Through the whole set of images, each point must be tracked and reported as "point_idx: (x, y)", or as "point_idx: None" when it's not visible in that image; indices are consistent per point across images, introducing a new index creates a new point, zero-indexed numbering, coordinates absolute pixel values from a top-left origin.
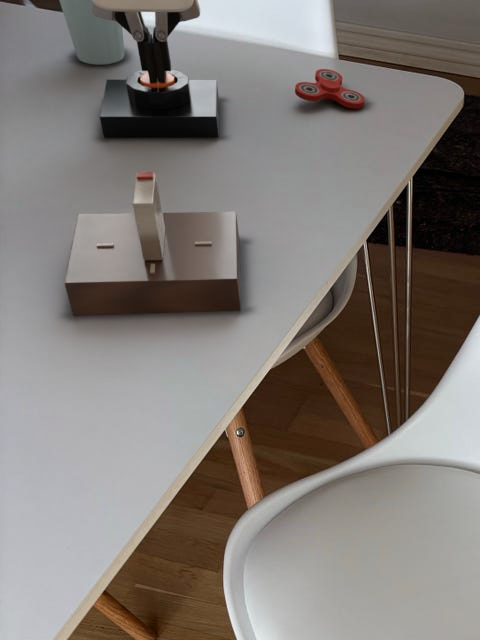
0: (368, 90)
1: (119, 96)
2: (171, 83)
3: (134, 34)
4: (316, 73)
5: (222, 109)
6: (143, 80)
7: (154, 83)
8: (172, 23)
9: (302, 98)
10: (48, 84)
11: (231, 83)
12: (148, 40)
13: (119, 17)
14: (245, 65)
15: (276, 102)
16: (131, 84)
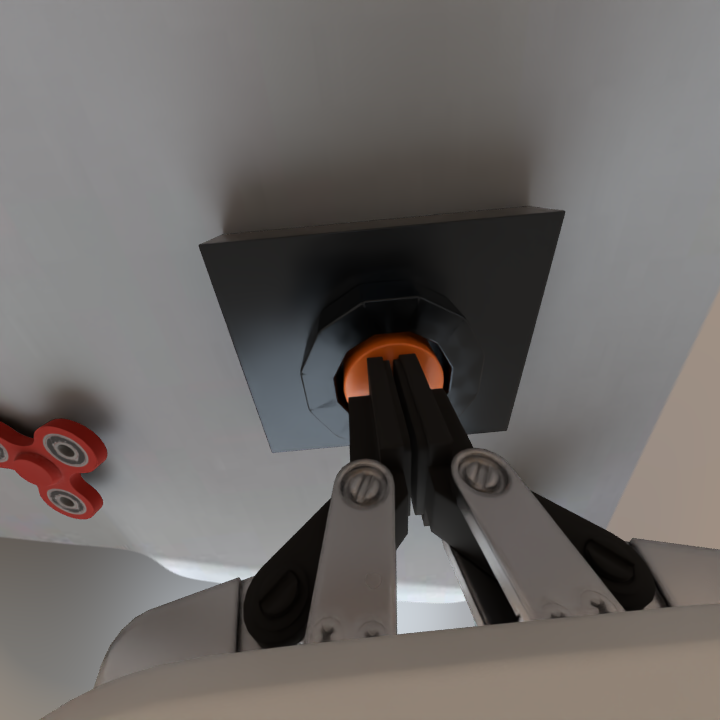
0: (14, 484)
1: (489, 353)
2: (349, 366)
3: (499, 478)
4: (89, 503)
5: None
6: (433, 368)
7: (399, 350)
8: (301, 557)
9: (75, 422)
10: (586, 444)
11: (275, 479)
12: (427, 466)
13: (615, 559)
14: (270, 527)
15: (163, 427)
16: (469, 348)
